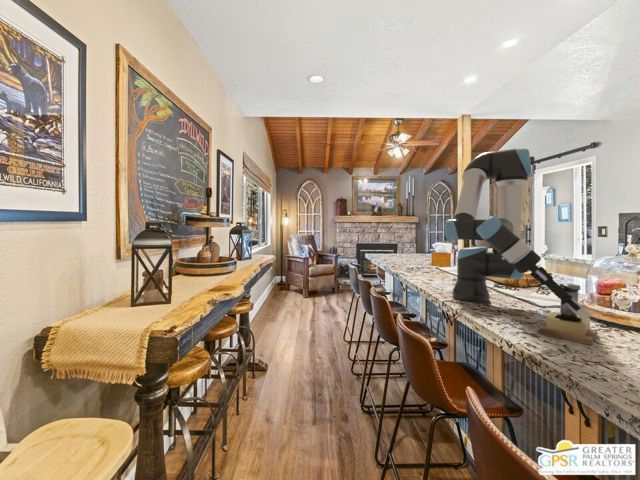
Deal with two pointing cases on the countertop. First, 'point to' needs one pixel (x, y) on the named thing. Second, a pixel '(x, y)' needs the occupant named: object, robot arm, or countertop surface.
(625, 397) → the countertop surface
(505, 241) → the robot arm
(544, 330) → the socket base
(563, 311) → the pin
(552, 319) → the square socket frame
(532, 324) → the countertop surface
